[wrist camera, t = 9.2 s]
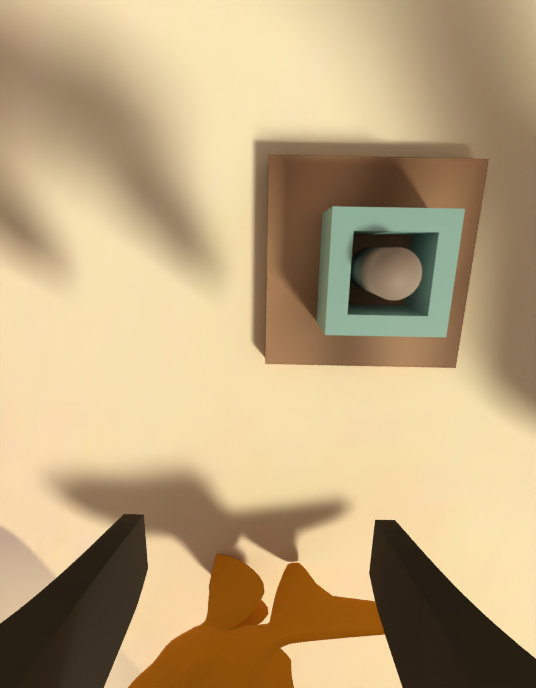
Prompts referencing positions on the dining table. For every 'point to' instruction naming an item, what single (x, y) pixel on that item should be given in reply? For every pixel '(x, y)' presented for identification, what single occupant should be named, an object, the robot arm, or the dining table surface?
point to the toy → (255, 631)
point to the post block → (361, 253)
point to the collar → (426, 243)
